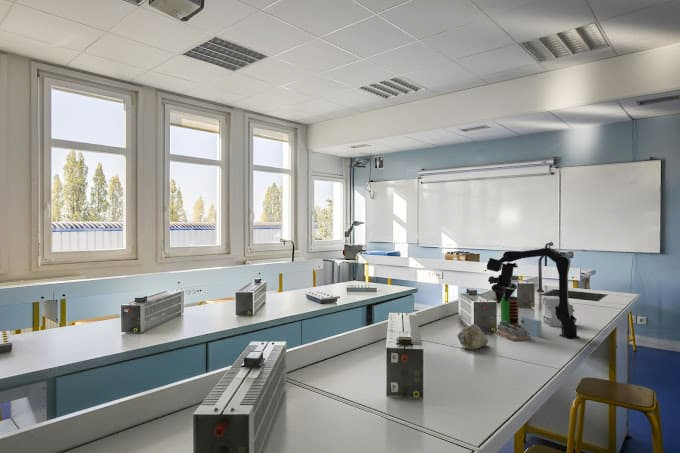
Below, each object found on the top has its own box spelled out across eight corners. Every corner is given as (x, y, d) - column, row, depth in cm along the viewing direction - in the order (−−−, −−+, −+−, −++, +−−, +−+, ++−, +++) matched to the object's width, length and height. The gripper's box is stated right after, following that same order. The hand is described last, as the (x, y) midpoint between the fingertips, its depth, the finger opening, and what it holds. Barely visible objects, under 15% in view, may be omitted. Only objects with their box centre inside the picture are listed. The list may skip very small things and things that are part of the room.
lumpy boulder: (495, 351, 184) (474, 345, 177) (475, 355, 192) (454, 349, 185) (492, 327, 189) (471, 320, 182) (473, 331, 198) (452, 325, 190)
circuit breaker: (576, 325, 220) (575, 298, 220) (550, 326, 220) (549, 298, 221) (569, 322, 228) (568, 295, 228) (543, 323, 228) (542, 296, 228)
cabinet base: (530, 339, 196) (530, 327, 197) (512, 341, 194) (512, 329, 195) (506, 329, 216) (505, 319, 216) (489, 331, 214) (488, 320, 214)
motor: (515, 328, 218) (514, 291, 218) (498, 326, 223) (497, 290, 223) (520, 324, 226) (519, 289, 226) (503, 323, 231) (502, 288, 231)
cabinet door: (541, 336, 201) (540, 320, 201) (535, 337, 200) (535, 320, 201) (525, 330, 213) (525, 315, 213) (520, 331, 212) (519, 316, 212)
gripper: (499, 269, 228) (495, 296, 230) (484, 271, 215) (479, 299, 217) (519, 274, 220) (514, 301, 222) (504, 276, 207) (499, 306, 209)
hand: (501, 302), depth 218 cm, fingers open, 9 cm apart
